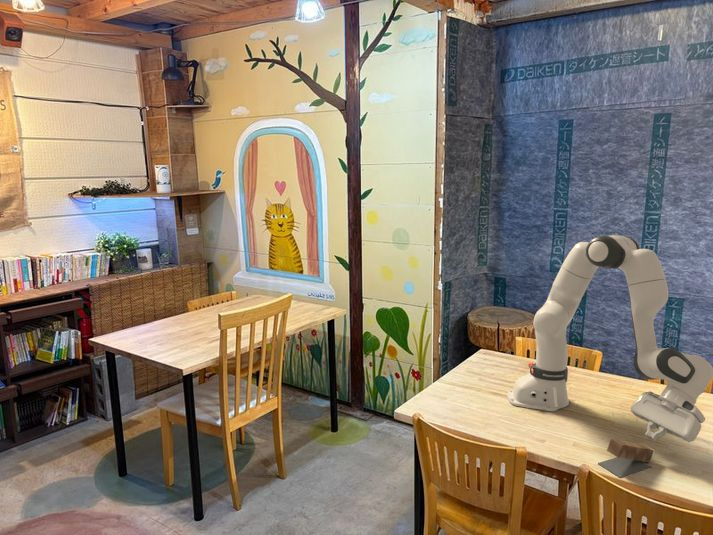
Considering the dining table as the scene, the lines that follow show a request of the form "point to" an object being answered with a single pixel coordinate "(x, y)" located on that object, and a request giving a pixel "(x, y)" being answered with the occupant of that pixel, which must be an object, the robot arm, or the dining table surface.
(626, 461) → the rubber mat
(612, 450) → the walnut block
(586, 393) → the dining table surface
